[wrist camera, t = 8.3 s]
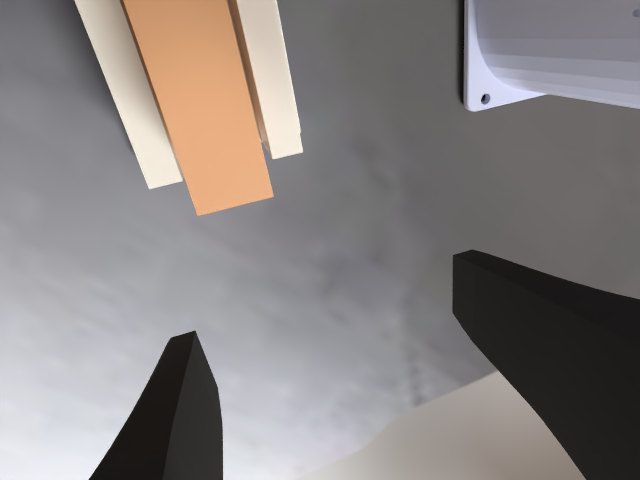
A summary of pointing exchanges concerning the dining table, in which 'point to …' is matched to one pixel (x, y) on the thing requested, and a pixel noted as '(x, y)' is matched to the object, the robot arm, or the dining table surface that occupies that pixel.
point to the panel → (203, 99)
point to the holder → (141, 101)
